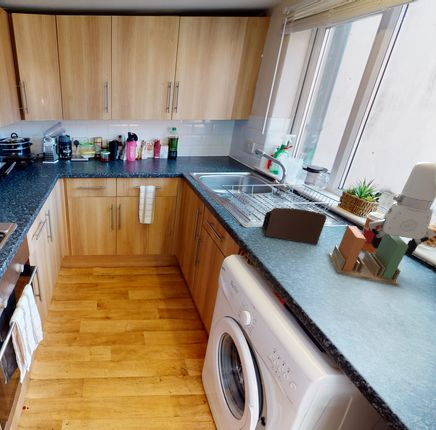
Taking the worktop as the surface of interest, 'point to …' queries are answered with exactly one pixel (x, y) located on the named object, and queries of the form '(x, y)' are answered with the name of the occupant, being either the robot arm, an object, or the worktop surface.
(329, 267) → the worktop surface
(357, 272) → the book rack
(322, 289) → the worktop surface
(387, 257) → the green book
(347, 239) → the orange book
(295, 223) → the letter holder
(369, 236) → the coffee cup
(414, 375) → the worktop surface
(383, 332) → the worktop surface
